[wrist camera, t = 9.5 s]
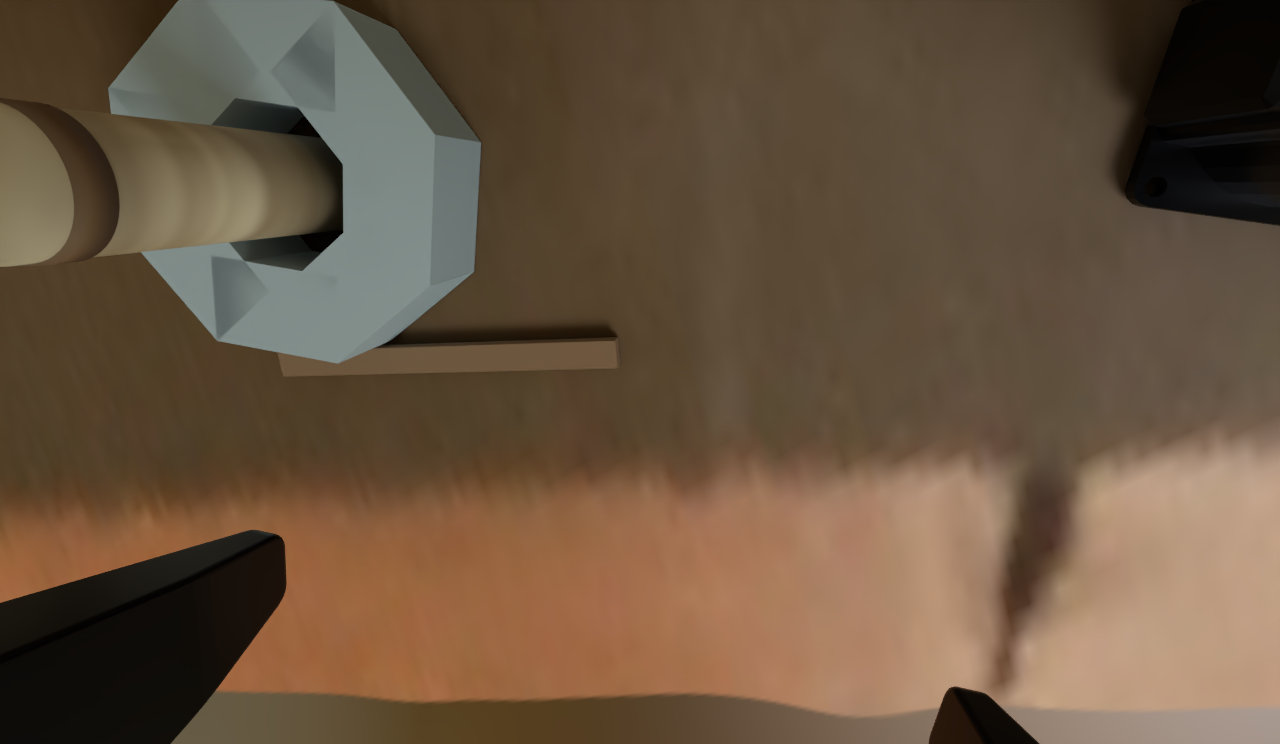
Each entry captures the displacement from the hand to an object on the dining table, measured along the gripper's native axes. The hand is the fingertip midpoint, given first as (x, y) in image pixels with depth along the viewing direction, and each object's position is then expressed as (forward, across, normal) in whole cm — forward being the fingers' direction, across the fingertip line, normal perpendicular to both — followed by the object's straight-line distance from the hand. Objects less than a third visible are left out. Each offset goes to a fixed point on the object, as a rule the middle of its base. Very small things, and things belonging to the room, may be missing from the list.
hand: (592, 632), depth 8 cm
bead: (+12, +12, -4) cm, 18 cm away
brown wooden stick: (+12, +8, +1) cm, 15 cm away
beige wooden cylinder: (+12, +12, -4) cm, 18 cm away
